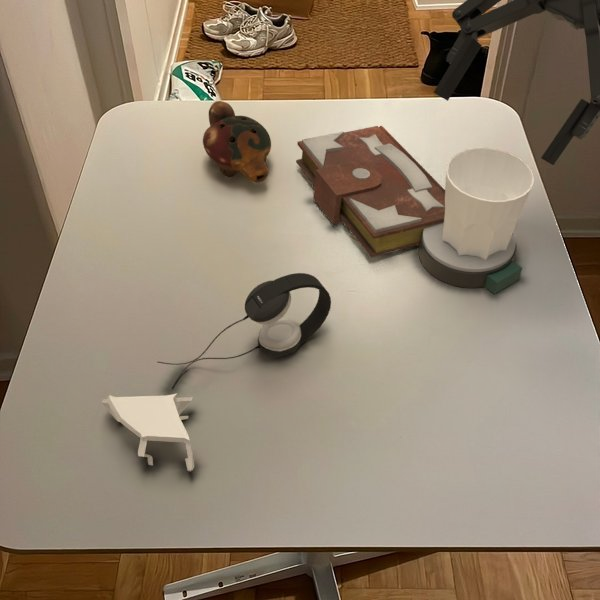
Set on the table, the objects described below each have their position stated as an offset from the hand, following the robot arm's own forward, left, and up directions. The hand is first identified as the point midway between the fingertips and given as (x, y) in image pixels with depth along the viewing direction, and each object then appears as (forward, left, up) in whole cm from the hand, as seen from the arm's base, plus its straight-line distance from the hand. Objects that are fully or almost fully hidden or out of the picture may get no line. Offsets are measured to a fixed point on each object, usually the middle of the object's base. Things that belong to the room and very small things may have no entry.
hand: (491, 128), depth 76 cm
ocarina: (+37, +9, -22) cm, 44 cm away
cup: (+3, -4, -19) cm, 20 cm away
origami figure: (+2, +42, -22) cm, 48 cm away
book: (+19, -2, -22) cm, 30 cm away
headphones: (+5, +28, -22) cm, 36 cm away
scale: (+3, -4, -22) cm, 23 cm away
